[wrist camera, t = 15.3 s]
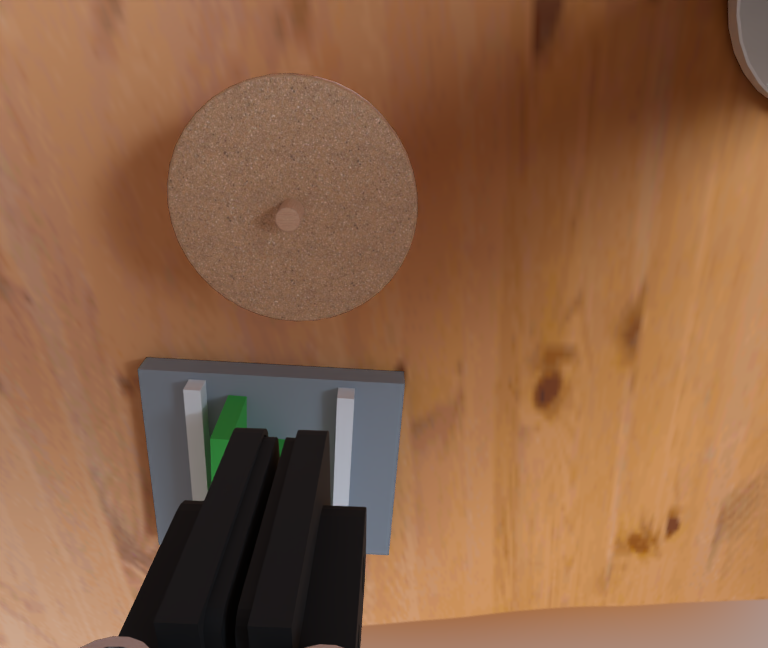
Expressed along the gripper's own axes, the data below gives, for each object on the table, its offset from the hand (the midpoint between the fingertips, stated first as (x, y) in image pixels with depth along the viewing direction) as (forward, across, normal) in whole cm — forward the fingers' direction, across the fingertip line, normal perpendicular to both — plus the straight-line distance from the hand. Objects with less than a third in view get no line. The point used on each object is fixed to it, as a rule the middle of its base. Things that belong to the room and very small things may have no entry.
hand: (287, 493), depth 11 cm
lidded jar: (+25, +3, 0) cm, 25 cm away
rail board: (+24, +6, +18) cm, 31 cm away
